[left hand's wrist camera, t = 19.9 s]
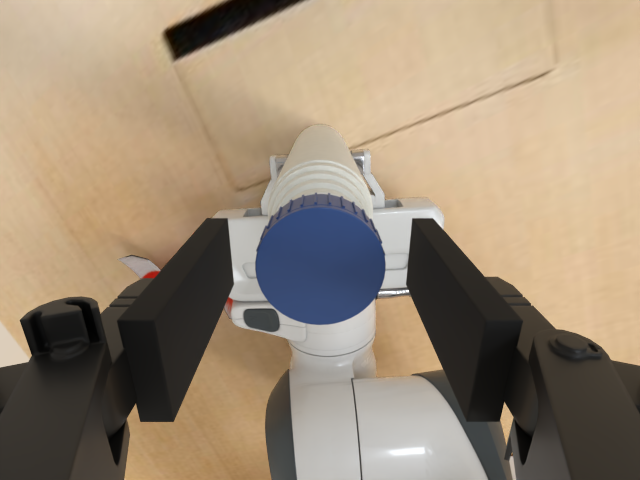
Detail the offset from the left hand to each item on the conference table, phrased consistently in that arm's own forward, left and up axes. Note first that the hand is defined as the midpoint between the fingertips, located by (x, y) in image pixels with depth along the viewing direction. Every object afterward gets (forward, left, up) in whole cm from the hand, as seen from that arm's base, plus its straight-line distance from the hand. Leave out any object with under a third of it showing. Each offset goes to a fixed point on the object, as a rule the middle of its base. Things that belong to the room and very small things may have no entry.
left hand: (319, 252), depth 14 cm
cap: (0, 0, +1) cm, 1 cm away
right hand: (-1, 0, -18) cm, 18 cm away
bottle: (0, 0, -25) cm, 25 cm away
